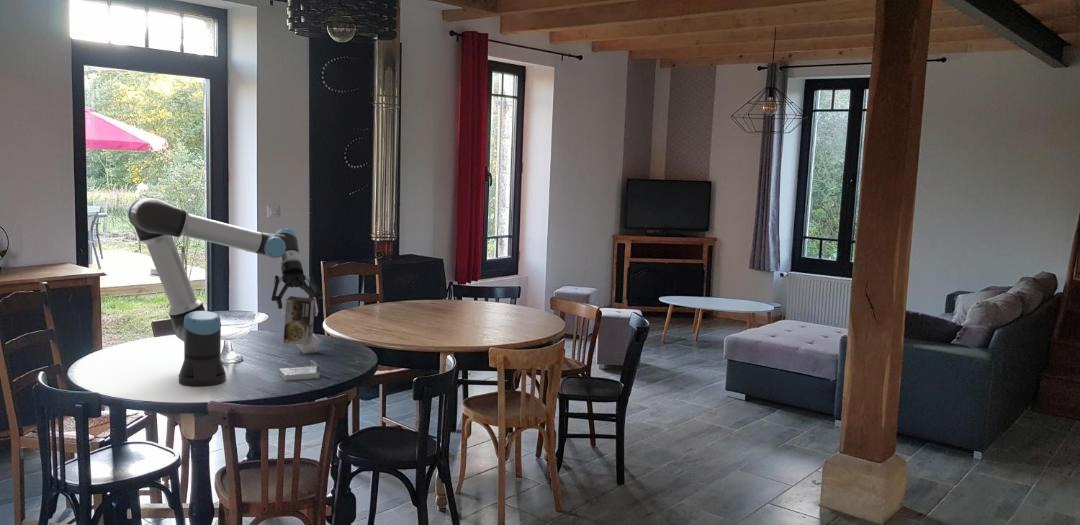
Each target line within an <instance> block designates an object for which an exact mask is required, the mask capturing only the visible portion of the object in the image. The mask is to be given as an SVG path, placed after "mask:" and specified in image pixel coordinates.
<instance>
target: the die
mask: <svg viewBox="0 0 1080 525" xmlns="http://www.w3.org/2000/svg"><path fill="white" fill-rule="evenodd" d="M320 343H321V340H320V339H319V338H318V336H316V334H315V333H314V332H313V335H312V342H311V343H310V344H309V345H300V344H296V347H297V348H298V349H299V350H300V351H301V352H302V353H303V354H304V355H305V354H314V353H317V350H318V348H319V346H320Z"/></svg>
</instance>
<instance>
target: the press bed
mask: <svg viewBox="0 0 1080 525" xmlns="http://www.w3.org/2000/svg"><path fill="white" fill-rule="evenodd" d="M278 375H279V376H280V377H281V378H282V379H283V380H284V382H288V381H298V380H301V379H302V380H310V379H311V380H313V378H314V379H320V365H319V364H318V363H317V362H316V361H314V360H313V359H309V365H308V366H297V367H285V368H279V369H278ZM302 380H301V381H302Z"/></svg>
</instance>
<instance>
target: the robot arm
mask: <svg viewBox="0 0 1080 525" xmlns="http://www.w3.org/2000/svg"><path fill="white" fill-rule="evenodd" d="M127 216H128V219H129V223H131V225H132V226H133V228H134V229H135V231H136V235H137V237H138V240H139V242H141V243H143V244H145V245H146V247H147V249H148V252H149V254H150V258H151V260H152V262H153V266H154V267H155V270H156V272H157V275H158V277H159V280H160V283H161V285H162V288H163V290H164V293H165V295H166V297H167V298H166V299H167V301H168V304H169V306H170V309H169V311H168V316H169V319H170V320H171V321H170V322H171V327H172V331H173V334H174V335H175V336H176V338H178V339H179V340H181V341H183V343H184V346H183V348H184V349H183V350H184V352H183V354H184V356H183V358H184V359H183V362H182V365H181V368H180V371H179V374H178V383H179V384H181V385H184V386H191V387H204V386H206V387H207V386H215V385H218V384H221V383H223V382H225V381H226V380H227V375H226V374H227V373H226V369H225V367H224V364H223V361H222V359H221V352H222V351H221V347H222V346H221V343H222V342H221V340H222V338H221V337H222V336H221V331H222V330H221V329H222V328H221V327H222V322H221V321H222V320H221V317H220V315H219V314H218V313H216V312H213V311H208V310H206V309H205V306H204V303H203V301H202V300H199V299H197V298H196V295H195V293H194V290H193V288H192V285H191V283H190V279H189V277H188V274H187V273H186V270H185V267H184V264H183V262H182V258H181V256H180V254H179V251H178V248H177V246H176V243H175V240H174V237H175V238H180V237H182V236H184V237H187V238H193V239H196V240H200V241H205V242H207V243H208V242H209V243H214V244H217V245H221V246H225V247H228V248H229V247H230V248H233V249H237V250H241V251H245V252H249V253H250V252H251V253H254V254H258V255H262V256H265V257H268V258H272V259H278V260H279V265H280V270H281V271H280V272H281V274H282V275H281V276H279V275H275V276H274V280H273V282H274V286H273V289H272V290H273V291H272V293H271V294H272V295H271V299H270V300H271V302H275V303H276V304H277V308H278V309H279V310H280V311H281V315H282V318H284V319H285V316H286V303H285V300H284V298H283V297H284V295H285V294H286V292H287V290H288V289H289V288H291V289H293V288H300V289H301V290H303V291H304V292H305V293H306V294H307V295H308V296H309V298H315V306H314V317H318V313H319V307H320V300H321V299H322V298H323V295H324V294H323V292H322V290H321V289H320V287H319V285H318V284H317V283H316V281H315V279H314V275H313V274H310V275H305V274H304V269H303V265H302V260H301V255H300V249H299V245H298V239H297V234H296V233H295V231H294V230H292V229H290V228H281V229H278V230H277V231H276V232H275V233H268V232H261V231H256V230H254V229H253V230H252V229H248V228H246V227H241V226H238V225H234V224H230V223H225V222H222V221H218V220H214V219H209V218H206V217H203V216H198V215H195V214H191V213H189V212H188V210H187V209H184V208H180V207H177V206H175V205H172V204H170V203H168V202H166V201H164V200H162V199H158V198H156V197H154V196H144V197H140V198H137V199H136V200H135V201H133V202H132V203H131V204H130V206H129V208H128V212H127ZM281 281H282V282H283V283H284V285H283V287H282V289H281V291H280V292H279V294H278V295H277V292H278V289H279V284H280V283H281ZM307 283H308V284H309V285H308V284H307Z"/></svg>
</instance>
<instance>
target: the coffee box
mask: <svg viewBox="0 0 1080 525" xmlns="http://www.w3.org/2000/svg"><path fill="white" fill-rule="evenodd" d="M314 306H315V298H311V297H306V296H305V297H302V296H292V295H290V296H289V297H287V298H286V299H285V310H286V316H285V318H284V329H283V342H282V343H283V344H289V345H290V344H291V345H297V344H300V345H309V344H310V343H311V342H312V335H313V333H314V322H315V321H314V319H315V314H314Z"/></svg>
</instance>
